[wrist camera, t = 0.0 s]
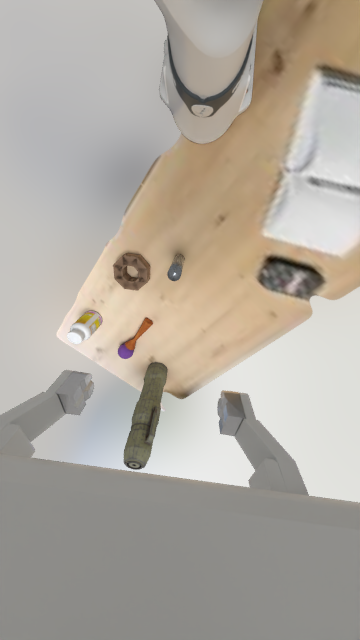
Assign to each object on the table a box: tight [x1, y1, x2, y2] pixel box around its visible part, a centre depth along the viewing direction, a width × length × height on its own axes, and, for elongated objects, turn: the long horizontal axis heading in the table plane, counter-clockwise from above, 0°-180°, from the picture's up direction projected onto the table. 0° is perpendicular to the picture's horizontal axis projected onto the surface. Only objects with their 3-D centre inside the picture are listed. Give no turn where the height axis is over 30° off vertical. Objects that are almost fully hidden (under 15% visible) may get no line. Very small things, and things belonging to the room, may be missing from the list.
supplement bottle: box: [67, 311, 102, 344], centre depth 61 cm, size 7×7×13 cm
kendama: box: [118, 318, 153, 359], centre depth 68 cm, size 6×6×20 cm
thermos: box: [124, 362, 167, 469], centre depth 63 cm, size 9×12×35 cm
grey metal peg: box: [168, 254, 185, 281], centre depth 47 cm, size 3×3×16 cm
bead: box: [113, 253, 150, 290], centre depth 54 cm, size 10×10×4 cm
